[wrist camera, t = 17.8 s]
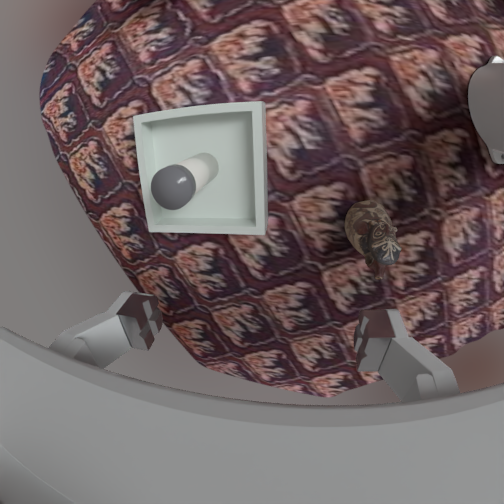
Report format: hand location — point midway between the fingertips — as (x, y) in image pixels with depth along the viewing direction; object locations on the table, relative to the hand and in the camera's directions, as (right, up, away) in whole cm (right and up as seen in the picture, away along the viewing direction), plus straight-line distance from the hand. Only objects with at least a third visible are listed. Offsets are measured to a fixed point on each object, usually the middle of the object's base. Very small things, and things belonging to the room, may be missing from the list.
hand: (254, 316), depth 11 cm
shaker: (-7, +15, +28) cm, 32 cm away
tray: (-7, +15, +29) cm, 33 cm away
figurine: (+17, +7, +29) cm, 34 cm away
